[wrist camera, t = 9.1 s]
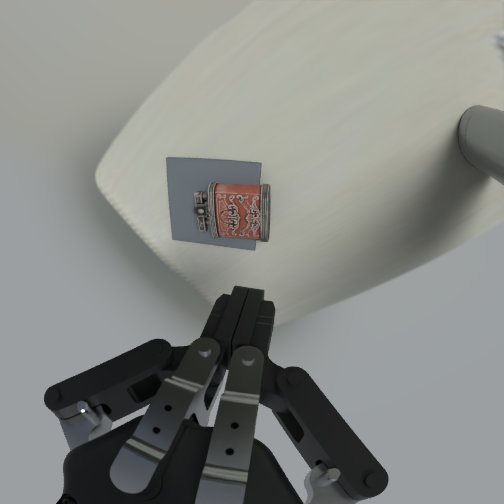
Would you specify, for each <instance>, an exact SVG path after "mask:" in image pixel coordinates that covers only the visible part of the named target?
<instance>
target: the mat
mask: <svg viewBox="0 0 504 504" xmlns="http://www.w3.org/2000/svg"><path fill="white" fill-rule="evenodd" d="M166 163H167V181H168V195H169V208H170V219H171V229H172V239H173V240H180V241H188V242H195V243H203V244H210V245H217V246H225V247H232V248H240V249H247V250H254V251H255V246H256V240H254V239H241V238H227V237H220V238H213V236H212V231H211V226H210V225H208V231H207V232H199V231H198V228H197V221H196V217H197V215H196V214H194V213H193V207H194V206H195V198H194V193H195V191H204V192H208V187H209V184H210V183H211V182H217V183H218V184H241V185H260V176H261V163H257V162H246V161H233V160H219V159H202V158H176V157H168V158H166ZM207 199H208V198H207Z"/></svg>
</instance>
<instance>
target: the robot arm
mask: <svg viewBox="0 0 504 504" xmlns="http://www.w3.org/2000/svg"><path fill="white" fill-rule="evenodd" d="M458 136H459V144H460V148H461V150H462V153H463V155H464V156H465V158H466V159H467V160H468V161H469V163H471V164H472V165H474V166H475V167H477V168H479V169H480V170H482V171H483V172H485V173H486V174H488V175H489V176H491V177H492V178H494V179H495V180H497V181H498V182H500V183H501V184H503V185H504V111H501V110H497V109H493V108H489V107H485V106H480V105H479V106H473V107H471V108H469V109H468V110H467V111H466V112H465V113H464V115H463V116H462V119H461V121H460V125H459V132H458ZM274 317H275V307H274V304H273V302H272V301H265V300H264V290H261V289H254V288H250V289H249V288H247V287H241V286H234V289H233V291H232V294H231V295H228V294H223V295H221V296H220V297H219V298H218V299H217V300H216V302H215V304H214V307H213V309H212V311H211V314H210V316H209V318H208V320H207V323H206V325H205V327H204V330H203V332H202V334H201V336H200V338H198V339H196V340H195V341H193V343H191V345H188V346H181V347H180V346H179V347H171V345H170V343H169V342H167V341H166V340H164V339H153V340H151V341H148V342H146V343H144V344H142V345H140V346H138V347H136V348H134V349H132V350H130V351H128V352H125V353H123V354H121V355H119V356H117V357H115V358H113V359H111V360H108V361H106V362H104V363H102V364H100V365H98V366H95V367H93V368H91V369H89V370H87V371H84V372H82V373H80V374H78V375H76V376H73V377H71V378H69V379H66V380H64V381H62V382H60V383H57V384H55V385H53V386H51V387H49V388H48V389H47V391H46V393H45V395H44V402H45V405H46V406H47V407H48V408H49V409H50V410H51V411H52V412H53V413H54V414H55V415H56V416H57V417H58V418H59V421H60V424H61V426H62V429H63V432H64V435H65V437H66V440H67V442H68V445H69V447H70V450H71V451H70V452H69V453H68V455H67V456H66V458H65V460H64V464H63V473H64V489H63V494H62V496H61V498H60V499H59V501H58V502H57V503H56V504H303V502H302V500H301V499H300V497H299V496H298V494H297V492H296V491H295V489H294V488H293V486H292V485H291V483H290V482H289V480H288V478H287V477H286V475H285V473H284V472H283V470H282V468H281V467H280V465H279V463H278V462H277V460H276V458H275V456H274V455H273V453H272V452H271V451H270V449H269V448H268V447H267V446H265V445H264V444H263V443H262V442H260V441H259V440H257V439H255V438H254V433H255V426H256V419H257V412H258V404H259V403H260V404H263V405H264V406H266V407H268V408H270V409H272V412H273V414H274V415H275V417H276V418H277V420H278V421H279V423H280V424H281V426H282V427H283V429H284V430H285V432H286V434H287V435H288V436H289V438H290V439H291V441H292V442H293V444H294V445H295V447H296V448H297V450H298V451H299V453H300V454H301V455H302V457H303V458H304V460H305V461H306V462H307V464H308V465H309V467H310V468H311V469H312V470H311V471H310V472H309V473H308V474H307V475H306V477H305V480H304V486H305V488H306V490H307V494H308V497H307V501H306V503H305V504H355V503H357V502H358V501H361V500H364V499H368V498H371V497H374V496H377V495H378V494H380V493H382V492H383V491H384V490H385V488H386V486H387V484H388V474H387V472H386V471H385V469H384V468H383V467H382V466H381V464H380V463H379V462H378V461H377V460H376V459H375V457H374V456H373V455H372V454H371V452H370V451H369V450H368V449H367V448H366V446H365V445H364V444H363V443H362V442H361V440H360V439H359V438H358V436H357V435H356V434H355V433H354V432H353V430H352V429H351V428H350V427H349V425H348V424H347V423H346V422H345V420H344V419H343V418H342V417H341V415H340V414H339V413H338V412H337V410H336V409H335V408H334V406H333V405H332V404H331V403H330V401H329V400H328V399H327V398H326V396H325V395H324V394H323V392H322V391H321V390H320V389H319V387H318V386H317V385H316V383H315V382H314V381H313V379H312V378H311V377H310V376H309V374H308V373H307V372H306V371H305V370H303V369H302V368H299V367H287V368H285V369H284V368H282V367H280V366H278V365H276V364H274V363H273V362H272V361H271V360H270V359H269V357H268V351H269V345H270V341H271V336H272V331H273V325H274ZM226 369H227V370H229V371H228V376H227V381H226V385H225V390H224V393H223V394H222V395H221V398H220V402H219V406H218V411H217V415H216V420H215V424H214V427H207V425H208V421H209V415H210V411H211V410H212V407H213V405H214V403H215V400H216V398H217V396H218V393H219V391H220V389H221V386H222V384H223V378H224V375H225V372H226ZM149 404H150V405H149ZM147 405H149V407H148V409H147V411H146V413H145V414H144V415H141V416H139V417H136V418H134V419H132V420H131V421H129V422H127V423H125V424H123V425H121V426H119V427H117V428H115V429H113V430H111V427H112V422H114V421H116V420H118V419H120V418H122V417H125V416H127V415H129V414H131V413H133V412H135V411H137V410H139V409H141V408H143V407H145V406H147Z"/></svg>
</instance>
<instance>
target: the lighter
mask: <svg viewBox="0 0 504 504" xmlns="http://www.w3.org/2000/svg"><path fill="white" fill-rule="evenodd" d="M194 198H195V206H194V207H193V213H194V214H196V215H197V217H196V221H197V228H198V231H199V232H207V231H208V225H210V226H211V231H212V236H213V238H220V237H227V238H241V239H254V240H261V241H262V242H268V240H269V232H270V184H262V185H241V184H218V183H217V182H211V183H210V184H209V187H208V192H204V191H195V193H194ZM207 198H208V199H207Z"/></svg>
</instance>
